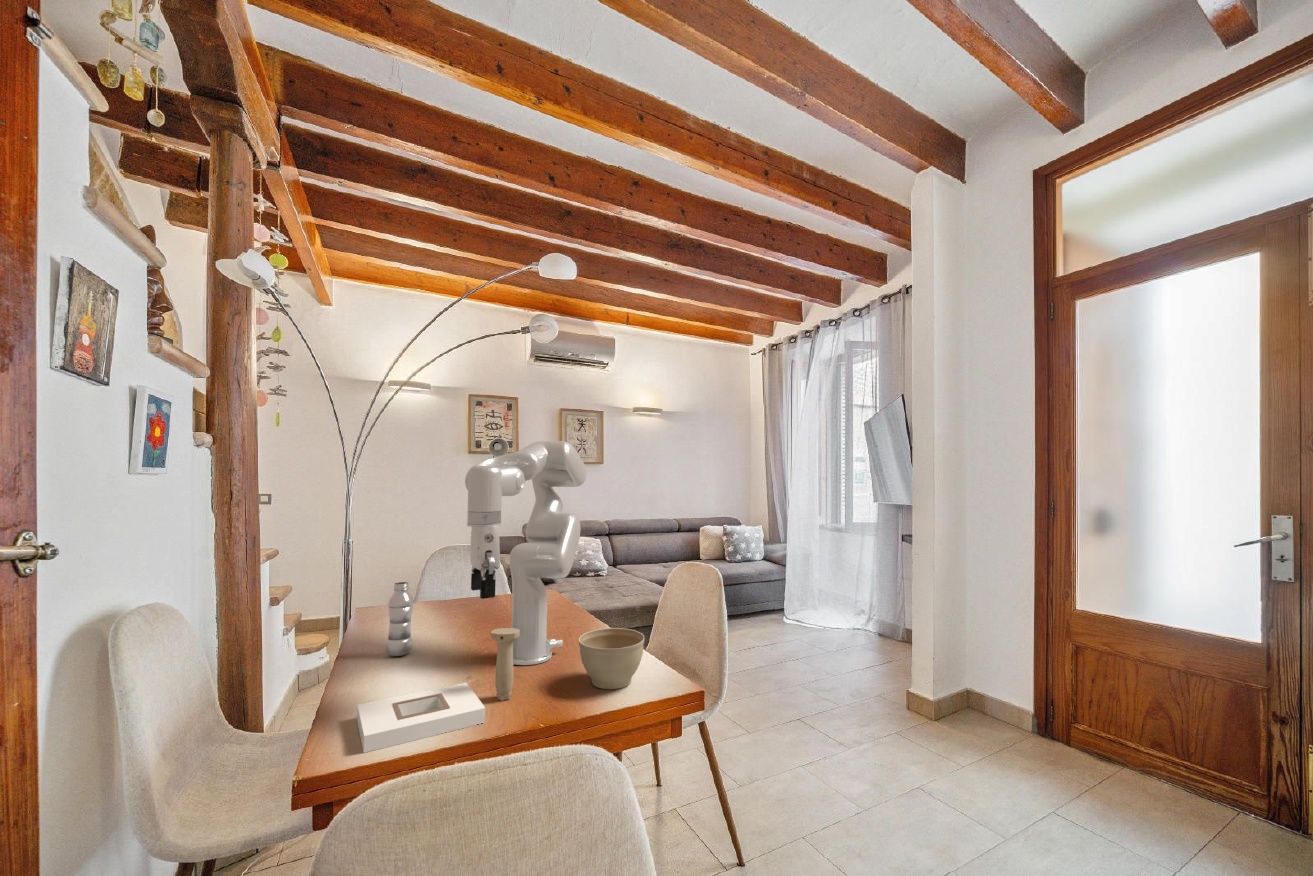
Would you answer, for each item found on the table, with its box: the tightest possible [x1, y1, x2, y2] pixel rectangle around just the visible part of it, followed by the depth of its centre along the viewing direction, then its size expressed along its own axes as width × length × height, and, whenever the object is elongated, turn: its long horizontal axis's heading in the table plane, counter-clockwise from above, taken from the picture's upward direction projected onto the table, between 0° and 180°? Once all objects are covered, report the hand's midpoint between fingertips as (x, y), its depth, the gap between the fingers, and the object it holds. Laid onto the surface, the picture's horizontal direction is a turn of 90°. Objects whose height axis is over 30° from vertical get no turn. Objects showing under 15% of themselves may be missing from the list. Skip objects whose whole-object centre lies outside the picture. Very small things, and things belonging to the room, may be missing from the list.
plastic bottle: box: [385, 581, 415, 657], centre depth 152 cm, size 6×7×20 cm
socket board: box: [356, 682, 486, 754], centre depth 111 cm, size 22×16×3 cm
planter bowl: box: [578, 627, 645, 690], centre depth 132 cm, size 16×16×11 cm
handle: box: [490, 627, 520, 701], centre depth 123 cm, size 5×6×15 cm
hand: (482, 593), depth 124 cm, fingers open, 9 cm apart
